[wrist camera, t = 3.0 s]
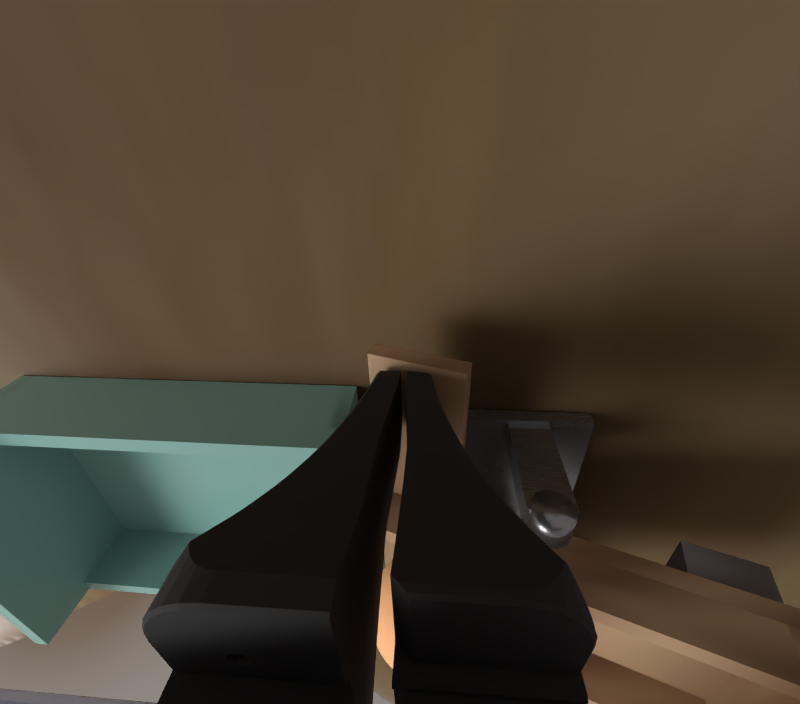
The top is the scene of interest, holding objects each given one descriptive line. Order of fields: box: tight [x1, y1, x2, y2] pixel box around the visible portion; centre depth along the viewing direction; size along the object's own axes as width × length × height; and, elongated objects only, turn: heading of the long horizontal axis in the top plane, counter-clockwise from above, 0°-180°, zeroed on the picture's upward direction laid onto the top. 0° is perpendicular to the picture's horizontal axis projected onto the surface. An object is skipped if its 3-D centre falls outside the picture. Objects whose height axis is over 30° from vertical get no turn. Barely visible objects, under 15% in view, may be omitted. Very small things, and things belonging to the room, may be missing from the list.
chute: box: [367, 344, 800, 704], centre depth 12 cm, size 13×12×4 cm
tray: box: [0, 376, 358, 644], centre depth 17 cm, size 15×11×6 cm
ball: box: [377, 561, 395, 669], centre depth 14 cm, size 4×4×4 cm
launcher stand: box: [465, 409, 595, 549], centre depth 16 cm, size 5×9×5 cm, turn 2°
